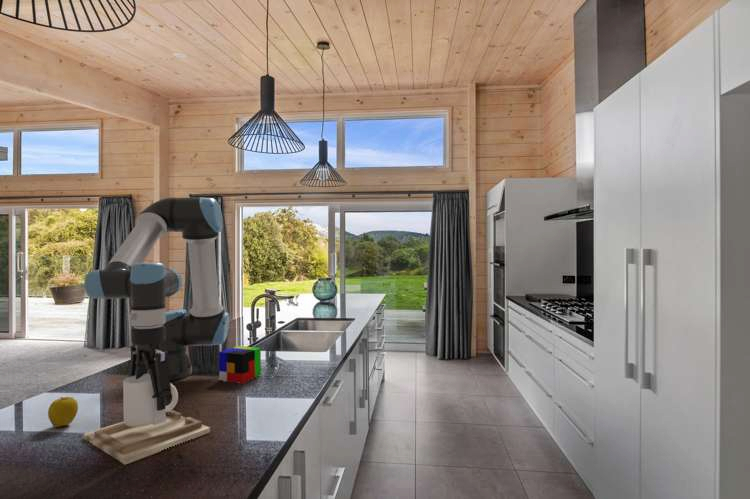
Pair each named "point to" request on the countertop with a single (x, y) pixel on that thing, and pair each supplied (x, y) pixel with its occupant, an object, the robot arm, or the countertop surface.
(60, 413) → the apple
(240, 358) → the puzzle toy
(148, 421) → the mug
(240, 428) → the countertop surface
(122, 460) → the board
